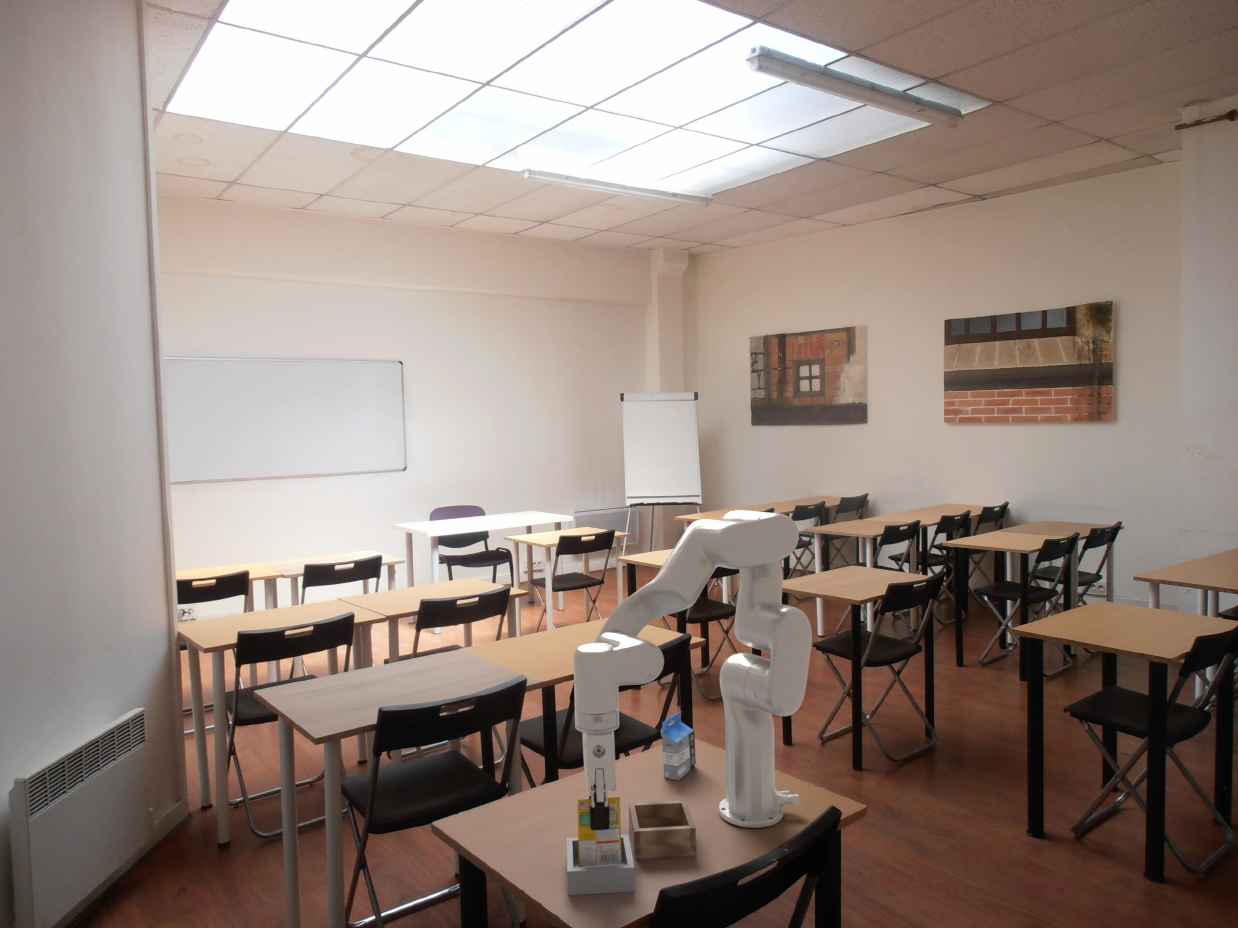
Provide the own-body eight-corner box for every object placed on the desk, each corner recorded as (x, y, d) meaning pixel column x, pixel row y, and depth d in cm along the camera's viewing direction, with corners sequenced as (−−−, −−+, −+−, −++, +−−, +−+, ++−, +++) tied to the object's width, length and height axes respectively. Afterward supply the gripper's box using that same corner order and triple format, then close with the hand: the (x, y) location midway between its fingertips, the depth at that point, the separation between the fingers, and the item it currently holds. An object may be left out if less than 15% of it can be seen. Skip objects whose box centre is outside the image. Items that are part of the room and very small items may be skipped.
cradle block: (628, 856, 143) (628, 834, 143) (634, 891, 132) (634, 867, 132) (567, 859, 142) (566, 837, 142) (567, 895, 131) (567, 871, 131)
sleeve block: (686, 825, 154) (685, 799, 154) (696, 855, 143) (695, 827, 143) (629, 828, 153) (628, 803, 153) (634, 858, 142) (634, 831, 142)
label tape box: (678, 781, 174) (677, 725, 173) (662, 777, 176) (661, 722, 175) (696, 766, 181) (695, 713, 181) (680, 763, 183) (679, 710, 183)
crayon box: (620, 854, 139) (619, 789, 138) (621, 864, 136) (620, 797, 135) (578, 857, 138) (576, 791, 138) (578, 867, 135) (577, 799, 135)
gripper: (622, 734, 128) (625, 846, 129) (615, 700, 145) (617, 800, 145) (576, 736, 128) (578, 849, 128) (573, 702, 144) (576, 802, 145)
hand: (599, 822), depth 137 cm, fingers closed on crayon box, 3 cm apart
